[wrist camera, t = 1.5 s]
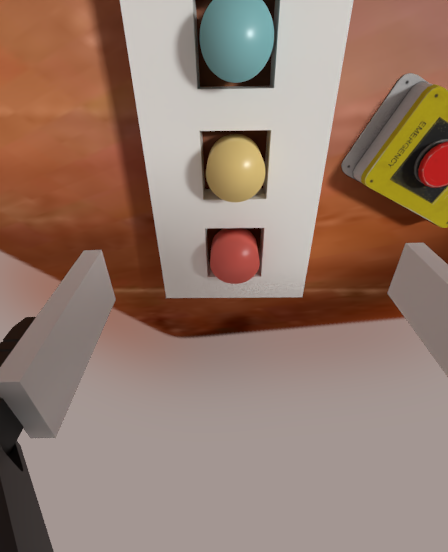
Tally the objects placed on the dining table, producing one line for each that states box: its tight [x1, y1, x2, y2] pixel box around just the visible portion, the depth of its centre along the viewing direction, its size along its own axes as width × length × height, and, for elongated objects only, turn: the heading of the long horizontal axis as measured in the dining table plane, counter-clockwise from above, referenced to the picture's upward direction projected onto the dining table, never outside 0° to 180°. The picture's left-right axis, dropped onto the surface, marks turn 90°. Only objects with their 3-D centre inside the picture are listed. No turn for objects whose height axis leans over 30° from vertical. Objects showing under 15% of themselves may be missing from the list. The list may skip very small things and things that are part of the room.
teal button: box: [200, 0, 274, 83], centre depth 22 cm, size 5×5×4 cm
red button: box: [210, 228, 260, 284], centre depth 32 cm, size 5×5×4 cm
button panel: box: [120, 0, 353, 298], centre depth 29 cm, size 16×30×3 cm, turn 1°
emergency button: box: [341, 73, 448, 228], centre depth 28 cm, size 9×4×15 cm
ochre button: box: [206, 134, 265, 202], centre depth 27 cm, size 5×5×4 cm
